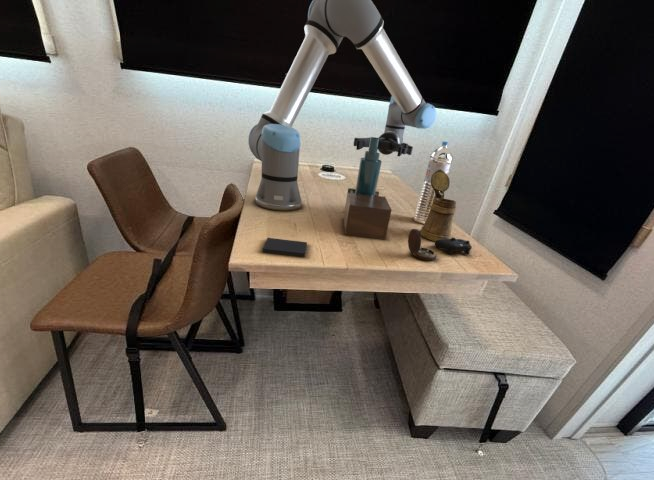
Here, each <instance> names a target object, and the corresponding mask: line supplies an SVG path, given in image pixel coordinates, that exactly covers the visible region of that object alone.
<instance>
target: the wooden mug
mask: <svg viewBox="0 0 654 480" xmlns="http://www.w3.org/2000/svg"><path fill="white" fill-rule="evenodd" d="M450 181H451V180H450V177H449V174H448V175H447V174H446V173H445V172H444V171H442V170H441V169H440V170H438V171H436V172H435V173H434V174H433V175H432V178H431V185H432V188H433V189H434V191H435V196H434V199H433V203H432V205H431V206H430V208H431V209H430V212H429V214H428V217H427V219H426V221H425V224H423V226H421V229H420V230H419V233H420V236H421V237H423V238H425V239H426V240H430V241H433V242H435V241H437V240H440V239H452V234H451V233H452V228H453V222H454V217H455V213H456V212H457V201H455V200H453V199H449V198H445V192H447V191H448V189H449V188H450Z"/></svg>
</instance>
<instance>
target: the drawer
mask: <svg viewBox="0 0 654 480" xmlns="http://www.w3.org/2000/svg"><path fill="white" fill-rule="evenodd" d="M355 190H356V188H354V187H348V188H347V192H346V196H347V195H348V192H349V193H355ZM375 196H380V191H379V190H378V191H377V190H376V193H375ZM346 202H347V198H346V200H345V203H346ZM345 208H346V204H345V207H344V209H345Z"/></svg>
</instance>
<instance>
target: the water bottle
mask: <svg viewBox="0 0 654 480" xmlns="http://www.w3.org/2000/svg"><path fill="white" fill-rule="evenodd" d="M449 143H450V142H449V141H445V140H444V141H443V140H442V142H441V146H440V147H438V148H436V149H435V150H434V151H432V152H431V154H430V155H429V161H428V164H427V167H426V171H425V175H424V179H423V181H422V185H421V189H420V193H419V197H418V201H417V203H416V208H415V211H414V215H413V220H414V221H415V222H416V223H418V224H422V225H424V224H425V221H426V219H427V217H428V214H429V212H430V209H431V208H430V206H431V205H432V203H433V199H434V196H435V191H434V189H433V188H432V185H431V178H432V175H433V174H434V173H435V172H436V171H438V170H440V169H441V170H442V171H444V172H445V173H446V174H447V175H448V176H449V171H450V168H451V166H452V165H451V164H453V163H452V162H453V155H452V152H451V150H450V149H449V148H448V146H449V145H450V144H449Z"/></svg>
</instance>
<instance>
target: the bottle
mask: <svg viewBox="0 0 654 480" xmlns="http://www.w3.org/2000/svg"><path fill="white" fill-rule="evenodd" d="M370 137H371V138H370V144H369V147H368V150H366V151H364V155H363V157H361V158H360V160H359V166H358V173H357V178H356V185H355V189H356V190H355V193H357V194H365V195H373V196H375V193H376V191H377V187H378V182H379V177H380V172H381V167H382V160H381V159H380V154H381V153H380V152H378V144H379V137H374V136H370Z"/></svg>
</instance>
